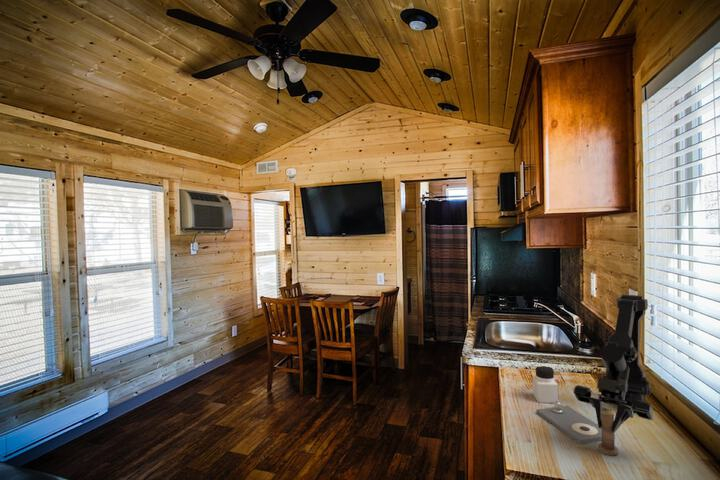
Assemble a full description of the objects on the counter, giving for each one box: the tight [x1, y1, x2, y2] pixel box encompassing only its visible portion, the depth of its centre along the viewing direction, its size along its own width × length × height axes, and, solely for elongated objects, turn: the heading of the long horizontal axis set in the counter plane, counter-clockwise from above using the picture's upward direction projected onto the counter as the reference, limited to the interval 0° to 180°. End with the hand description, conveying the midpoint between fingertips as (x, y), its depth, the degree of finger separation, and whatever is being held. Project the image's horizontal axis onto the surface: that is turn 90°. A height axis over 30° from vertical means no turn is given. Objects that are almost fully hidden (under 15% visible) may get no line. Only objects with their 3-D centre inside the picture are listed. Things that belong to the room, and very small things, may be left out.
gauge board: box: [536, 405, 616, 445], centre depth 122 cm, size 12×20×1 cm, turn 10°
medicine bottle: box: [532, 365, 559, 404], centre depth 141 cm, size 7×7×12 cm
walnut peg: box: [598, 407, 619, 457], centre depth 107 cm, size 5×5×12 cm
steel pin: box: [552, 400, 563, 414], centre depth 129 cm, size 3×3×3 cm
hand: (606, 429), depth 106 cm, fingers closed on walnut peg, 3 cm apart
